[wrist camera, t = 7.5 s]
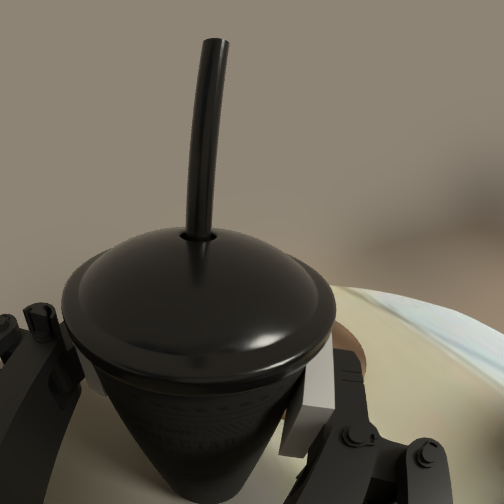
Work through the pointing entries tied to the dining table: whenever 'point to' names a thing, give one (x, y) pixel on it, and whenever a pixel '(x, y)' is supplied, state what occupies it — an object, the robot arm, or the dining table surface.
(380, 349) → the dining table surface
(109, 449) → the dining table surface
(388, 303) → the dining table surface
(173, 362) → the drinking cup
